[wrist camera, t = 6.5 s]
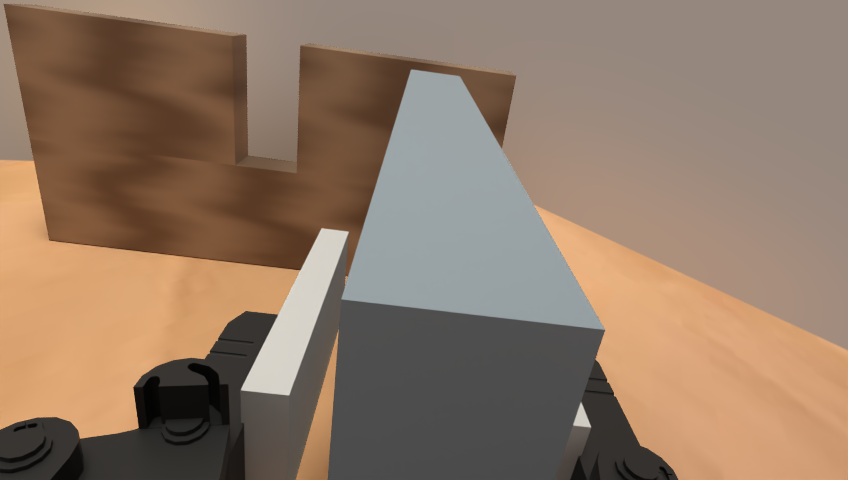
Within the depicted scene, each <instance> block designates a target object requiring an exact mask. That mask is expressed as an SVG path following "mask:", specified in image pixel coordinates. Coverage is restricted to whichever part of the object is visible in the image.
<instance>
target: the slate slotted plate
mask: <svg viewBox="0 0 848 480" xmlns="http://www.w3.org/2000/svg"><path fill="white" fill-rule="evenodd" d="M604 332H605V329H604V327H603V325H602V324H601V322H600V320H599V318H598V317H597V315H596V313H595V311H594V310H593V308H592V306H591V304H590V303H589V301H588V299H587V297H586V296H585V294H584V292H583V290H582V289H581V287H580V285H579V283H578V282H577V280H576V278H575V276H574V275H573V273H572V271H571V269H570V268H569V266H568V264H567V262H566V261H565V259H564V257H563V255H562V254H561V252H560V250H559V249H558V247H557V245H556V243H555V242H554V240H553V238H552V236H551V235H550V233H549V231H548V229H547V228H546V226H545V224H544V222H543V221H542V219H541V217H540V215H539V214H538V212H537V210H536V208H535V207H534V205H533V203H532V201H531V200H530V198H529V196H528V194H527V193H526V191H525V189H524V187H523V186H522V184H521V182H520V180H519V179H518V177H517V175H516V173H515V172H514V170H513V168H512V167H511V165H510V163H509V161H508V160H507V158H506V156H505V154H504V152H503V151H502V149H501V147H500V145H499V144H498V142H497V140H496V138H495V137H494V135H493V133H492V131H491V130H490V128H489V126H488V124H487V123H486V121H485V119H484V117H483V116H482V114H481V112H480V110H479V109H478V107H477V105H476V103H475V102H474V100H473V98H472V96H471V95H470V93H469V91H468V90H467V88H466V86H465V84H464V83H463V81H462V79H461V77H460V76H455V75H447V74H440V73H433V72H426V71H419V70H412V69H411V72H410V75H409V78H408V81H407V85H406V88H405V91H404V95H403V98H402V101H401V104H400V108H399V111H398V114H397V118H396V121H395V124H394V127H393V131H392V134H391V137H390V141H389V144H388V147H387V150H386V154H385V157H384V160H383V164H382V167H381V170H380V173H379V177H378V180H377V183H376V187H375V190H374V193H373V196H372V200H371V203H370V206H369V210H368V213H367V216H366V219H365V223H364V226H363V229H362V233H361V236H360V239H359V242H358V246H357V249H356V252H355V256H354V259H353V262H352V265H351V269H350V272H349V275H348V279H347V282H346V285H345V288H344V292H343V295H342V298H341V309H340V322H339V336H338V349H337V363H336V376H335V390H334V403H333V416H332V430H331V443H330V457H329V470H328V480H555V477H556V474H557V471H558V468H559V466H560V463H561V460H562V457H563V454H564V451H565V448H566V445H567V442H568V439H569V436H570V433H571V430H572V427H573V424H574V421H575V418H576V415H577V412H578V409H579V406H580V403H581V400H582V397H583V394H584V391H585V388H586V385H587V382H588V379H589V376H590V373H591V370H592V367H593V364H594V361H595V358H596V355H597V352H598V349H599V346H600V344H601V341H602V338H603V335H604Z"/></svg>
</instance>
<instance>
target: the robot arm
mask: <svg viewBox="0 0 848 480" xmlns="http://www.w3.org/2000/svg"><path fill="white" fill-rule="evenodd" d="M348 236H349V232H347V231H339V230H331V229H323V228H322V229H321V231H320V233H319V235H318V237H317V239H316V241H315V243H314V245H313V247H312V249H311V251H310V253H309V255H308V257H307V259H306V261H305V263H304V265H303V267H302V269H301V270H300V272H299V274H298V276H297V278H296V280H295V282H294V284H293V286H292V288H291V290H290V292H289V294H288V296H287V298H286V300H285V302H284V304H283V306H282V308H281V310H280V312H279V314H278V315H275V314H266V313H258V312H249V311H245V312H244V313H242V314H241V315H240V316H238V317H237V318H235V319H234V320H232V321H231V322H229V323H228V324H227V326H226V327H225V329H224V330H223V332H222V333H221V335H220V336H219V338H218V341H216V343H215V344H214V346H213V347H212V349H211V350H210V354H208V355H207V356H206V358H205V359H197V358H187V359H180V360H173V361H170V362H167V363H165V364H162V365H159V366H156V367H155V368H153V369H152V370H150V371H149V372H147V373H146V374H144V375H143V376H142V377H141V378H140V379H139V381H138V382H137V383H136V385H135V386H134V387H133V388H134V395H135V402H136V410H137V417H138V425H139V428H138V429H135V430H132V431H127V432H122V433H118V434H111V435H104V436H97V437H90V438H83V439H80V437H79V432H78V430H77V429H76V428H75V426H74V425H73V424H72V423H71V422H69V421H66V420H63V419H60V418H57V417H48V418H34V419H30V420H26V421H21V422H17V423H15V424H12V425H10V426H8V427H6V428H3V429H1V430H0V480H296V476H297V473H298V469H299V466H300V462H301V459H302V455H303V452H304V448H305V445H306V441H307V438H308V434H309V431H310V427H311V424H312V420H313V417H314V413H315V409H316V406H317V402H318V399H319V395H320V392H321V388H322V385H323V381H324V378H325V374H326V371H327V367H328V364H329V360H330V357H331V353H332V350H333V346H334V343H335V339H336V336H337V332H338V329H339V322H340V309H341V298H342V295H343V292H344V288H345V276H346V263H347V249H348ZM555 480H678V478H677V476H676V474H675V472H674V471H673V469H672V468H671V467H670V466H669V465H668V464H667V463H666V462H665V461H664V460H663V459H662V458H661V457H659V456H658V455H656V454H655V453H653V452H652V451H650V450H649V449H647V448H644V447H642V446H640V444H639V442H638V440H637V438H636V436H635V434H634V432H633V430H632V428H631V426H630V424H629V422H628V420H627V418H626V416H625V414H624V412H623V410H622V408H621V406H620V404H619V402H618V400H617V398H616V397H614V392H613V390H612V388H611V386H610V384H609V383H607V378H606V376H605V374H604V372H603V370H602V368H601V366H600V364H599V363H598V362H597V361H596V360H595V361H594V364H593V367H592V370H591V373H590V376H589V379H588V382H587V385H586V388H585V391H584V394H583V397H582V400H581V403H580V406H579V409H578V412H577V415H576V418H575V421H574V424H573V427H572V430H571V433H570V436H569V439H568V442H567V445H566V448H565V451H564V454H563V457H562V460H561V463H560V466H559V468H558V471H557V474H556V477H555Z"/></svg>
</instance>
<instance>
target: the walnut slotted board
mask: <svg viewBox="0 0 848 480" xmlns="http://www.w3.org/2000/svg"><path fill="white" fill-rule="evenodd" d="M4 8H5V13H6V18H7V23H8V29H9V33H10V39H11V43H12V49H13V54H14V60H15V65H16V70H17V75H18V80H19V85H20V91H21V96H22V101H23V106H24V111H25V116H26V121H27V127H28V131H29V137H30V142H31V148H32V153H33V158H34V163H35V168H36V173H37V179H38V184H39V189H40V194H41V199H42V204H43V210H44V215H45V220H46V225H47V230H48V235H49V240H54V241H63V242H71V243H80V244H88V245H96V246H105V247H113V248H122V249H130V250H139V251H147V252H156V253H164V254H172V255H181V256H189V257H198V258H206V259H215V260H223V261H232V262H240V263H249V264H257V265H265V266H274V267H282V268H291V269H299V270H301V269H302V267H303V265H304V263H305V261H306V259H307V257H308V255H309V253H310V251H311V249H312V247H313V245H314V243H315V241H316V239H317V237H318V235H319V233H320V231H321V229H322V228H323V229H331V230H339V231H347V232H349V236H348V249H347V263H346V275H349V272H350V269H351V265H352V262H353V259H354V256H355V252H356V249H357V246H358V242H359V239H360V236H361V233H362V229H363V226H364V223H365V219H366V216H367V213H368V210H369V206H370V203H371V200H372V196H373V193H374V190H375V187H376V183H377V180H378V177H379V173H380V170H381V167H382V164H383V160H384V157H385V154H386V150H387V147H388V144H389V141H390V137H391V134H392V131H393V127H394V124H395V121H396V118H397V114H398V111H399V108H400V104H401V101H402V98H403V95H404V91H405V88H406V85H407V81H408V78H409V75H410V72H411V69H412V70H419V71H426V72H433V73H440V74H447V75H455V76H460V77H461V79H462V81H463V83H464V84H465V86H466V88H467V90H468V91H469V93H470V95H471V96H472V98H473V100H474V102H475V103H476V105H477V107H478V109H479V110H480V112H481V114H482V116H483V117H484V119H485V121H486V123H487V124H488V126H489V128H490V130H491V131H492V133H493V135H494V137H495V138H496V140H497V142H498V144H499V145H500V147H501V149H502V145H503V140H504V134H505V129H506V124H507V119H508V114H509V109H510V104H511V99H512V94H513V89H514V84H515V79H516V75H514V74H513V73H511V72H508V71H501V70H494V69H486V68H480V67H472V66H465V65H458V64H451V63H444V62H437V61H429V60H422V59H416V58H408V57H401V56H394V55H387V54H380V53H373V52H366V51H358V50H352V49H344V48H337V47H330V46H323V45H316V44H305V45H301V47H300V79H299V113H298V114H299V115H298V150H297V162H293V161H285V160H277V159H270V158H262V157H254V156H248V134H247V133H248V131H247V130H248V129H247V61H246V60H247V59H246V58H247V53H246V35H245V34H238V33H231V32H223V31H217V30H209V29H202V28H195V27H187V26H181V25H174V24H167V23H160V22H153V21H145V20H138V19H131V18H123V17H117V16H109V15H103V14H96V13H89V12H81V11H74V10H67V9H60V8H53V7H46V6H38V5H21V4H4Z"/></svg>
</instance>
